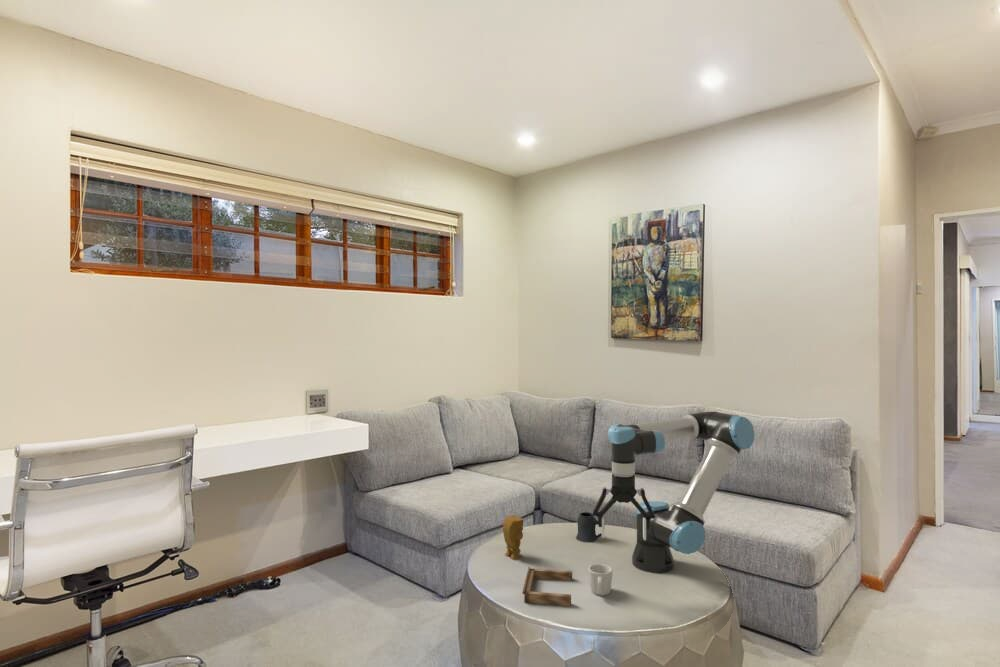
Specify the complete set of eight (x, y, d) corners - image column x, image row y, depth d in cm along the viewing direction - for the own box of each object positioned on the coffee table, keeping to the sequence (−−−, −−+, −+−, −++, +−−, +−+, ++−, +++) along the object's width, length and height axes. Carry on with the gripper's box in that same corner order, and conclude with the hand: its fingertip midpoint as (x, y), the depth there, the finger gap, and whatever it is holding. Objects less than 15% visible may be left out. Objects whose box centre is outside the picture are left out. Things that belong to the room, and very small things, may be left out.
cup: (612, 603, 176) (612, 578, 176) (587, 600, 178) (587, 576, 178) (612, 588, 187) (612, 564, 187) (588, 585, 188) (588, 562, 188)
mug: (574, 543, 226) (574, 516, 226) (576, 536, 235) (576, 510, 235) (603, 546, 223) (603, 519, 223) (605, 538, 232) (605, 512, 232)
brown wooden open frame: (572, 579, 193) (572, 569, 193) (571, 606, 174) (571, 595, 174) (528, 576, 196) (528, 566, 196) (522, 602, 177) (522, 591, 177)
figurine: (524, 557, 212) (524, 519, 212) (511, 561, 208) (511, 522, 208) (514, 552, 218) (514, 514, 218) (500, 555, 214) (500, 517, 214)
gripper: (660, 472, 184) (660, 535, 184) (585, 470, 188) (585, 531, 188) (663, 478, 176) (663, 543, 176) (585, 475, 180) (585, 539, 180)
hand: (623, 537), depth 182 cm, fingers open, 13 cm apart
